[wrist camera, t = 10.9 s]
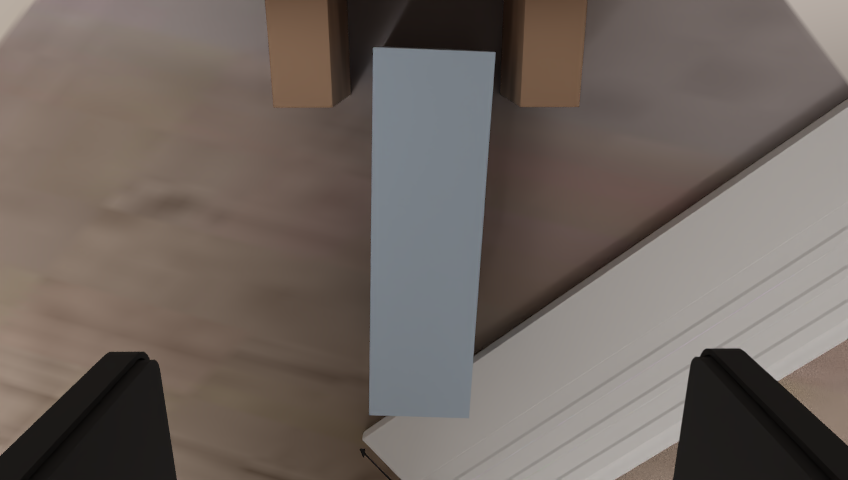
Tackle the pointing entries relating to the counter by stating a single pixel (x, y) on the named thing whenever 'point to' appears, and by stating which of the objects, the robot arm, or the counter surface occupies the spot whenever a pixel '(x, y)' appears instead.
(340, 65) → the walnut end cap
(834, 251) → the baseboard molding
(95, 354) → the counter surface
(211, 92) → the counter surface
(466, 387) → the slate slat
